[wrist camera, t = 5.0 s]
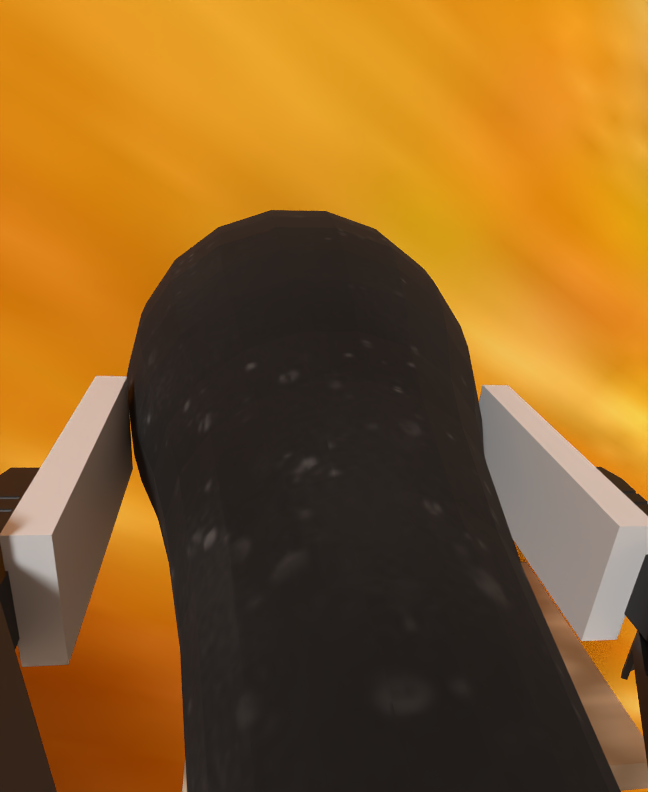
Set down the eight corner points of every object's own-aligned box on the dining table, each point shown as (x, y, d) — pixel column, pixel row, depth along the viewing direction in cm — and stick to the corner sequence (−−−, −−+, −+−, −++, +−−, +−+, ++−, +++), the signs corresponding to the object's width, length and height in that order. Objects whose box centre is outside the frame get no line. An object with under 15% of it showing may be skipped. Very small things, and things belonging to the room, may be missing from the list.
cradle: (203, 793, 35) (188, 1050, 26) (202, 569, 29) (181, 799, 19) (470, 772, 38) (551, 998, 28) (526, 562, 31) (659, 761, 21)
